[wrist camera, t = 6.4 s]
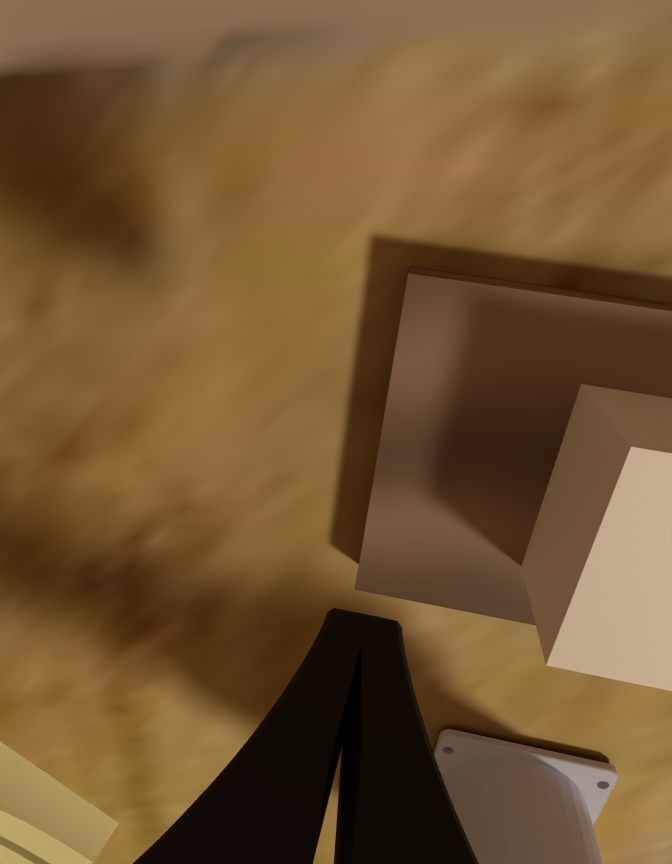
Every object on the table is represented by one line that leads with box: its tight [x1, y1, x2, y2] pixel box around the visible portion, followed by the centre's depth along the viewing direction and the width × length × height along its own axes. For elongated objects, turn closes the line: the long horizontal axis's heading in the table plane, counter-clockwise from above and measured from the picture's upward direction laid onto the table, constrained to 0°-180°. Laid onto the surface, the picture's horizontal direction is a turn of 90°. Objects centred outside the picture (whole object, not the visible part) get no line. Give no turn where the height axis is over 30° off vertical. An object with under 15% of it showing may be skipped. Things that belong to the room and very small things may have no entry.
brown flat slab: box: [355, 267, 672, 625], centre depth 19 cm, size 12×16×2 cm
